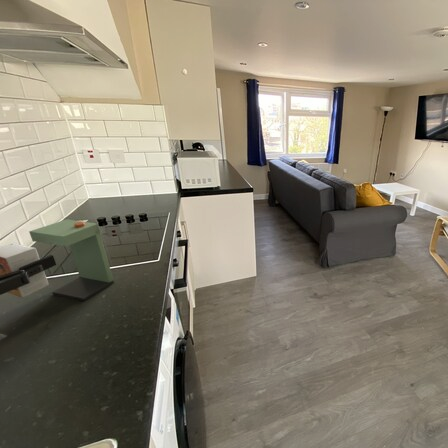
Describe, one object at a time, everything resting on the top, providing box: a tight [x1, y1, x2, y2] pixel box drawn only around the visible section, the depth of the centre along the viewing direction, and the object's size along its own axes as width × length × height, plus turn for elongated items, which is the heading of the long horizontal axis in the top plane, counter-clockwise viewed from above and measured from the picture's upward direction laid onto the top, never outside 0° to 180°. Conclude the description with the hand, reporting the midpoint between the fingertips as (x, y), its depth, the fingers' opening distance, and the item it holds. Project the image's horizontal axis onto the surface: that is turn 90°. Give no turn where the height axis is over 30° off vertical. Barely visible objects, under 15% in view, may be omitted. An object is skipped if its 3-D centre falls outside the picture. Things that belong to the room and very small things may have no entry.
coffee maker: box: [28, 219, 115, 302], centre depth 79 cm, size 12×10×22 cm
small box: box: [0, 242, 50, 299], centre depth 61 cm, size 8×6×10 cm
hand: (39, 257), depth 66 cm, fingers closed on small box, 8 cm apart
